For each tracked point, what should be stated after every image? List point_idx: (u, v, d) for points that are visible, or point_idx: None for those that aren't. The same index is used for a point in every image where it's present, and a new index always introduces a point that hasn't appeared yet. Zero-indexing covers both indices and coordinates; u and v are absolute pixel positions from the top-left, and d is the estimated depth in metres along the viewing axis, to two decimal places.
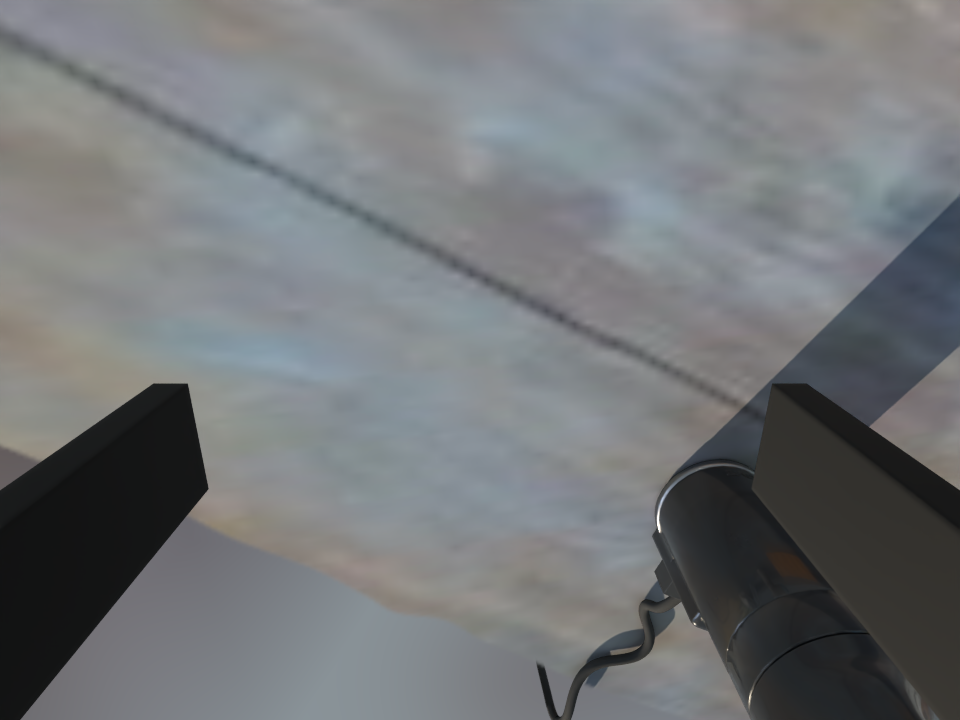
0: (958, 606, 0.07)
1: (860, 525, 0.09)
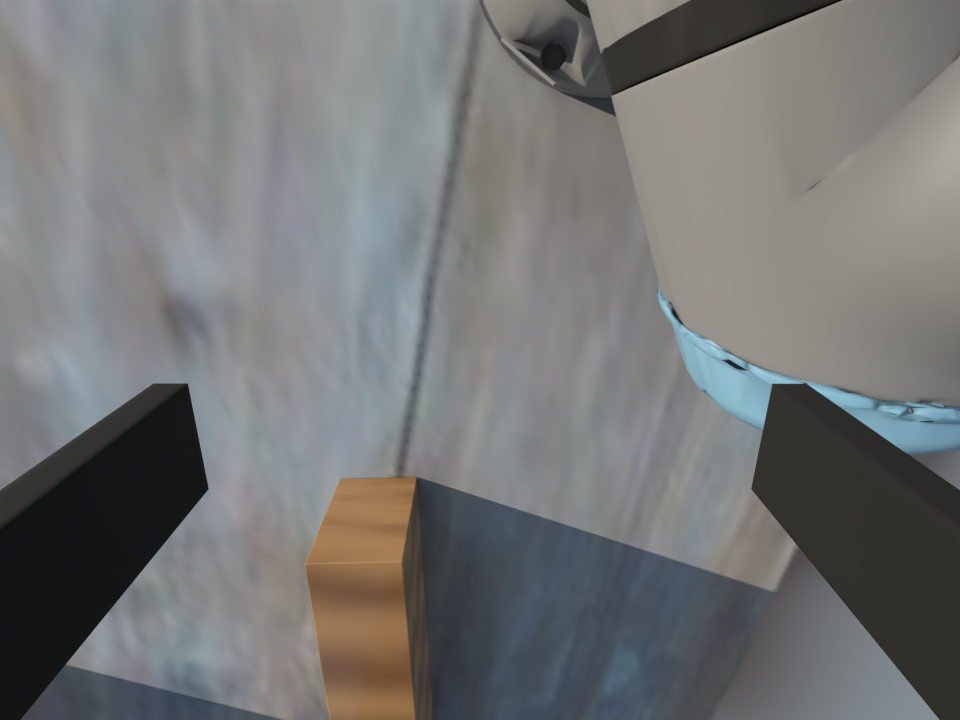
0: (958, 606, 0.07)
1: (860, 525, 0.09)
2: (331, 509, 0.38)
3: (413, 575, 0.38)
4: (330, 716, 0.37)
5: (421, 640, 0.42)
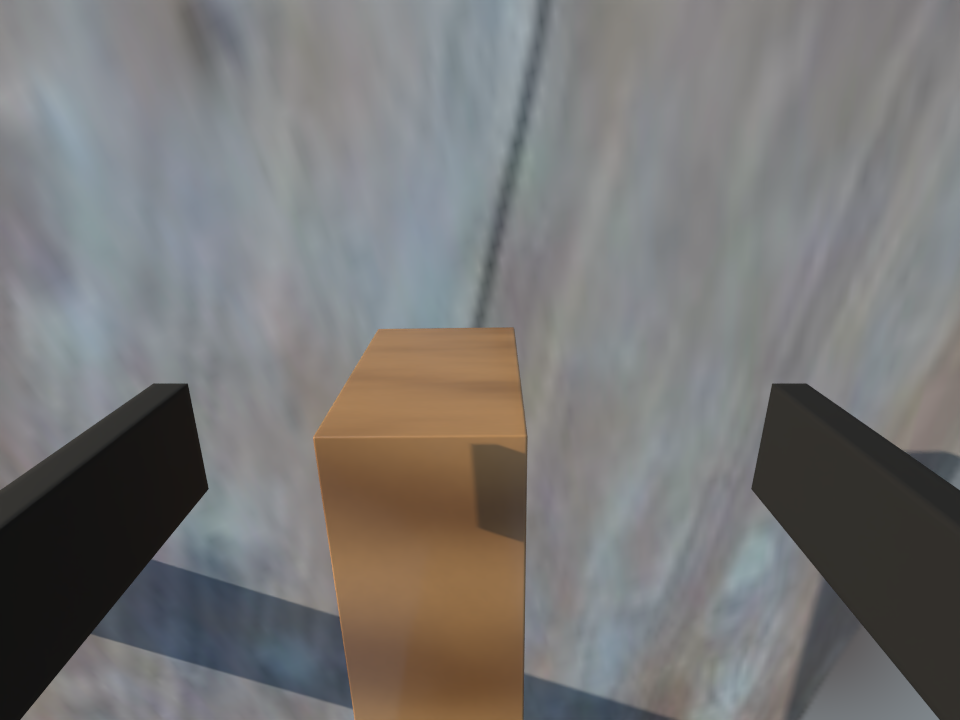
0: (958, 606, 0.07)
1: (860, 525, 0.09)
2: (365, 362, 0.20)
3: None
4: None
5: None
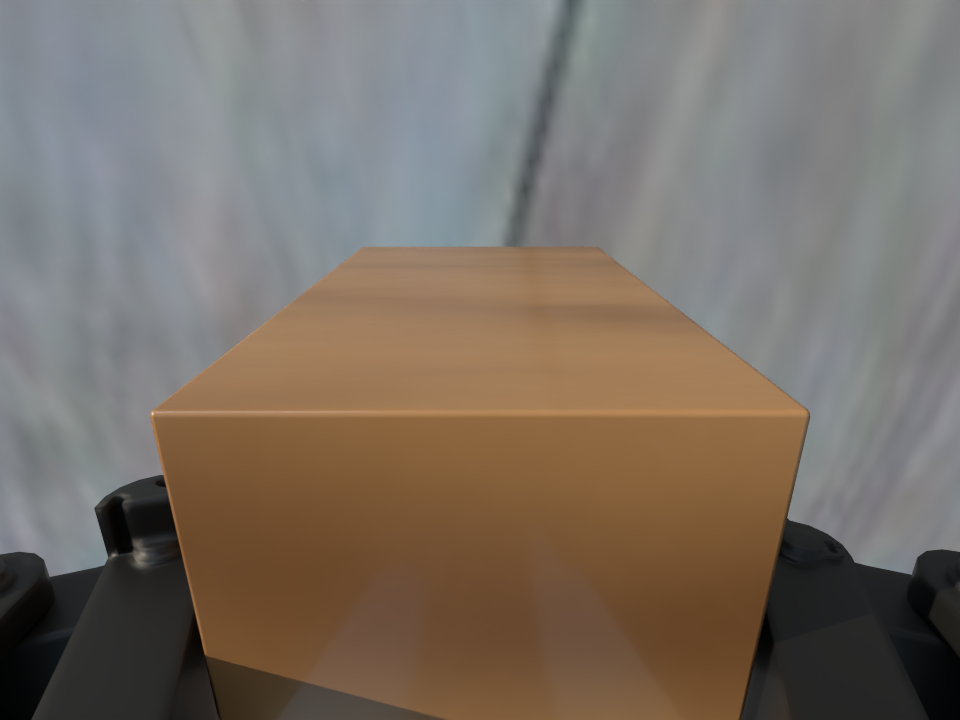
0: None
1: None
2: (334, 279, 0.10)
3: None
4: None
5: None
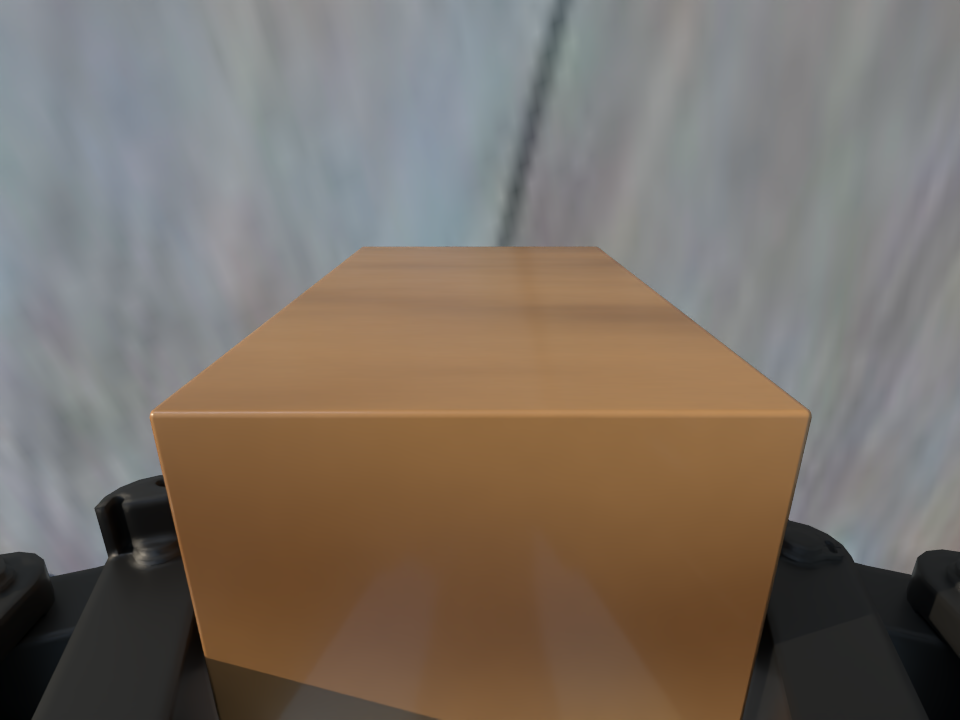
0: None
1: None
2: (334, 279, 0.10)
3: None
4: None
5: None
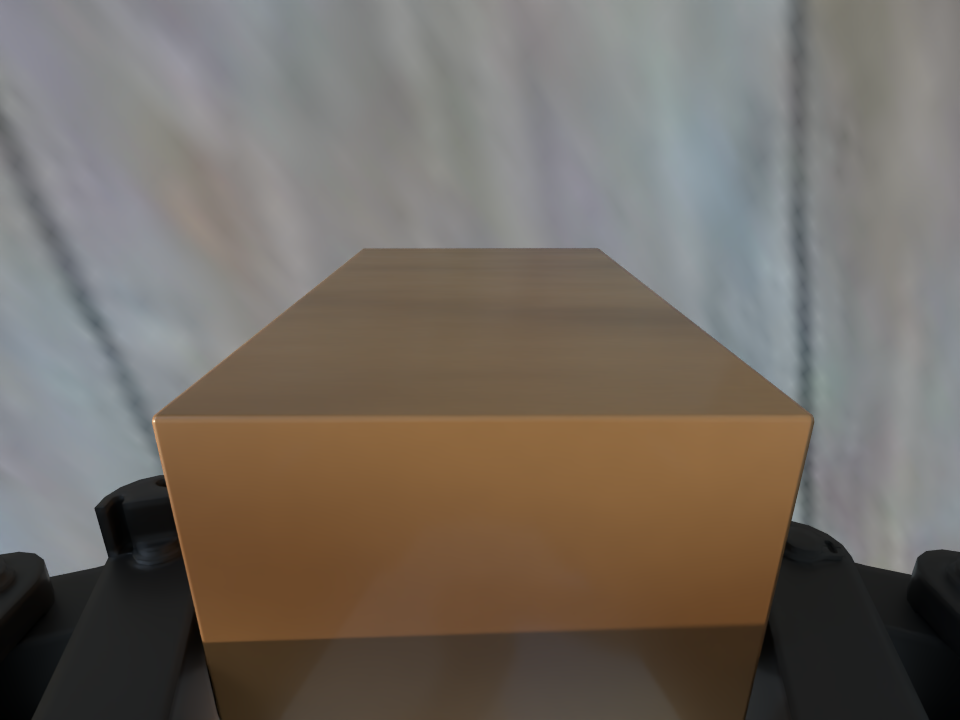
0: None
1: None
2: (335, 282, 0.10)
3: None
4: None
5: None
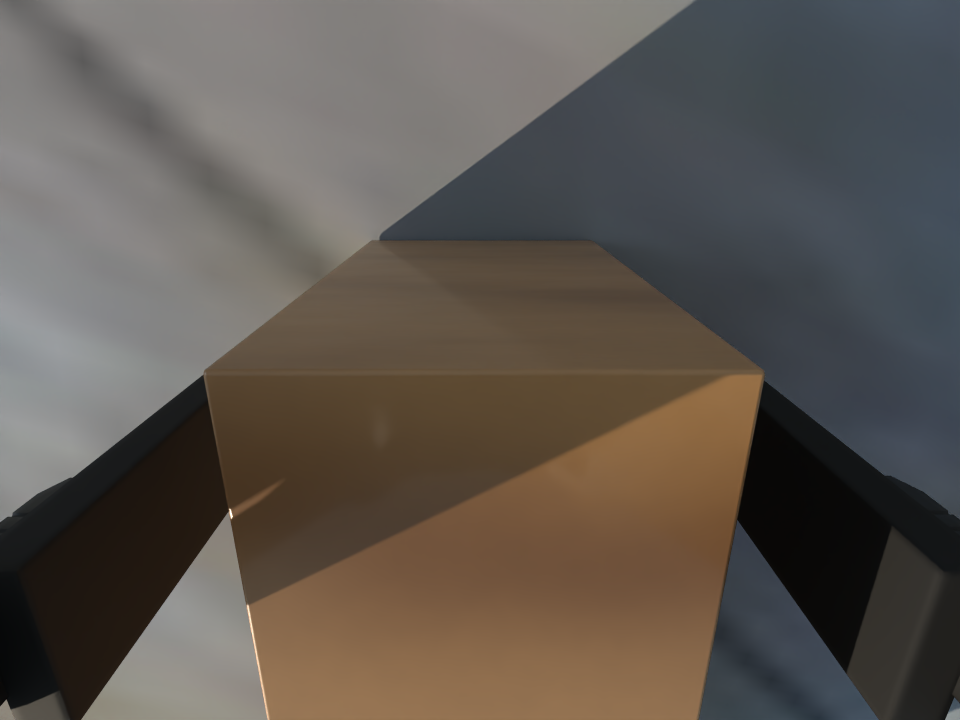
0: (863, 572, 0.08)
1: (790, 502, 0.10)
2: (347, 268, 0.11)
3: None
4: None
5: None
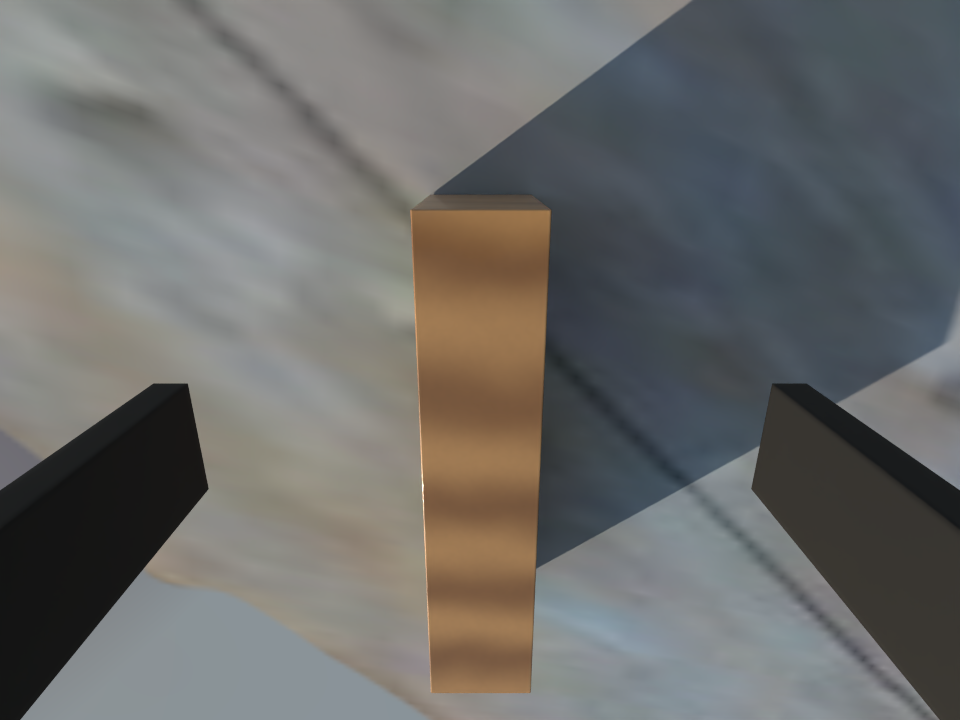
0: (958, 606, 0.07)
1: (860, 525, 0.09)
2: (428, 199, 0.28)
3: None
4: (423, 475, 0.27)
5: None
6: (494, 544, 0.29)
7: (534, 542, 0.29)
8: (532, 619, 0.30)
